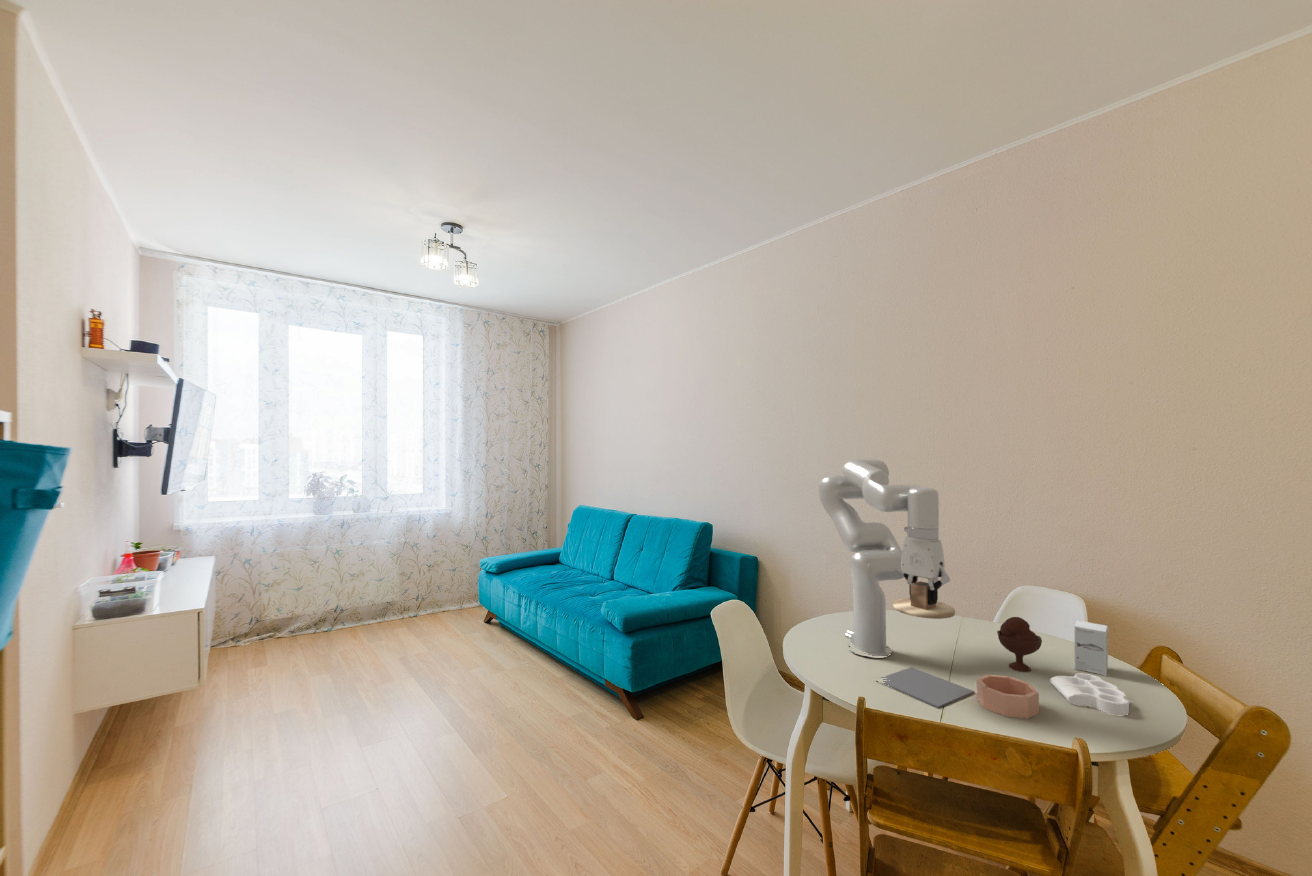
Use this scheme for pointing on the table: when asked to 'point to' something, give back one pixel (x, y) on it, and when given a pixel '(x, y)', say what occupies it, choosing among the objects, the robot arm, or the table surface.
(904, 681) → the rubber mat
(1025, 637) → the ice cream bowl
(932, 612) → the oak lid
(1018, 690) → the terracotta bowl
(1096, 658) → the supplement box
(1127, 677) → the table surface
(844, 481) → the robot arm
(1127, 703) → the white holed part
